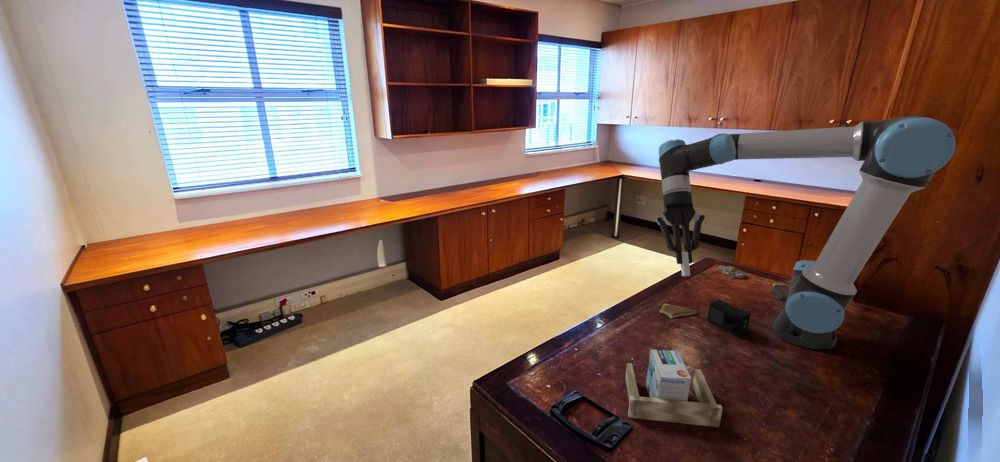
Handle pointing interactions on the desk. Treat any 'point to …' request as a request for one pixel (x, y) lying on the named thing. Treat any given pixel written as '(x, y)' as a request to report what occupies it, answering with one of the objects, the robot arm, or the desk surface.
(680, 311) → the shard
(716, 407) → the rack bay
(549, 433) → the desk surface
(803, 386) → the desk surface
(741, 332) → the digital camera
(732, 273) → the mineral rock
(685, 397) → the light bulb box
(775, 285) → the usb drive
